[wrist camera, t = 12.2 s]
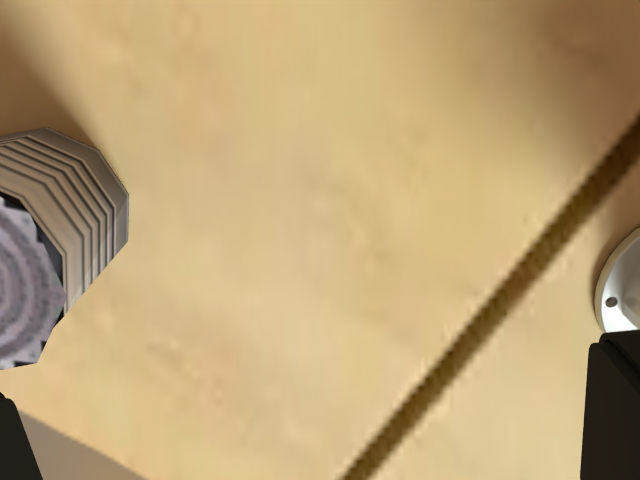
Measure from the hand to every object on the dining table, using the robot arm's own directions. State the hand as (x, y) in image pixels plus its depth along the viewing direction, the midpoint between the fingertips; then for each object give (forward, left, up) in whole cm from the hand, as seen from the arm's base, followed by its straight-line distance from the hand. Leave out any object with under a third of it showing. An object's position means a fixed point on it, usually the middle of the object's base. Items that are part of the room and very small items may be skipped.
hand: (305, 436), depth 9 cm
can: (+19, +4, -31) cm, 36 cm away
